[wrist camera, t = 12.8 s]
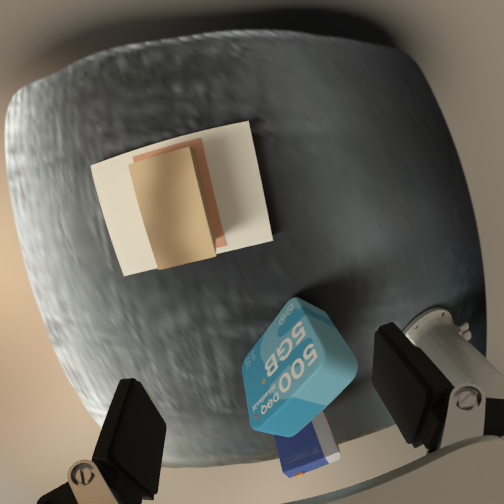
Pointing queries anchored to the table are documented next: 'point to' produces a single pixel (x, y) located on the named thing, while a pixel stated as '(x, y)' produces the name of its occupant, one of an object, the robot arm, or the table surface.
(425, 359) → the robot arm
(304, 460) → the walkman
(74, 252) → the table surface
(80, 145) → the table surface
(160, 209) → the tan cardboard box
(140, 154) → the plate
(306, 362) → the data package
